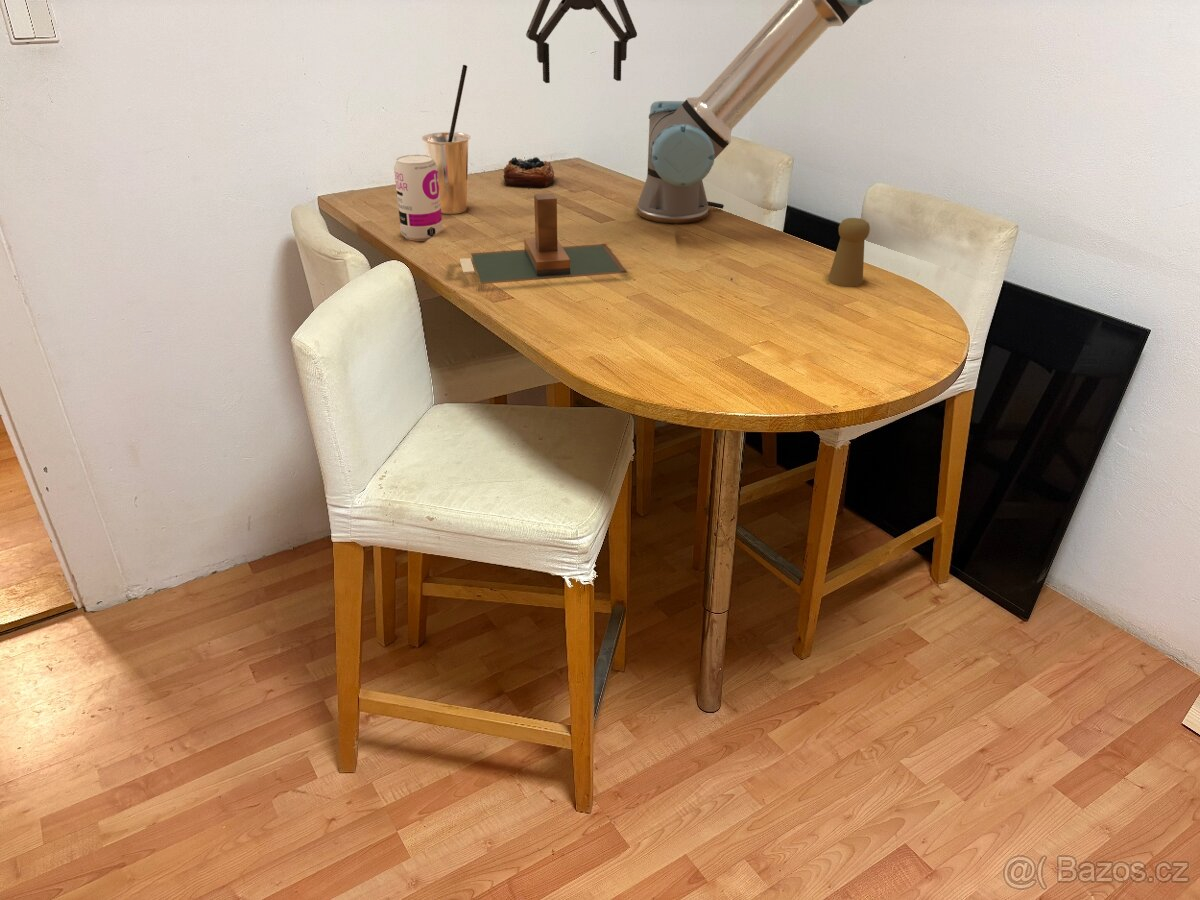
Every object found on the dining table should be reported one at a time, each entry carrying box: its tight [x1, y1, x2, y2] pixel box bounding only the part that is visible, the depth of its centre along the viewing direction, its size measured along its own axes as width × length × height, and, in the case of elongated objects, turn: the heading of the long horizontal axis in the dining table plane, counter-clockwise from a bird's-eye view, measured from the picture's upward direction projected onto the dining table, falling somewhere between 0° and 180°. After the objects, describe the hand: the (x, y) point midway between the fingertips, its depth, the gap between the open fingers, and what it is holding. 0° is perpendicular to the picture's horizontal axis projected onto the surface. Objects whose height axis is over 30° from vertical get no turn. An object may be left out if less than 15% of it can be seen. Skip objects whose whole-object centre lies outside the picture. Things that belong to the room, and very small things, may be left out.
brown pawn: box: [827, 217, 871, 288], centre depth 152 cm, size 6×6×11 cm
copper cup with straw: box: [421, 64, 471, 215], centre depth 180 cm, size 11×11×30 cm
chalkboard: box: [470, 243, 628, 285], centre depth 158 cm, size 26×16×1 cm, turn 104°
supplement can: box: [393, 154, 444, 242], centre depth 169 cm, size 8×8×15 cm
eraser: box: [523, 193, 570, 276], centre depth 154 cm, size 6×13×12 cm, turn 14°
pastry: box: [503, 156, 555, 189], centre depth 207 cm, size 11×12×6 cm
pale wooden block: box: [459, 257, 476, 275], centre depth 155 cm, size 7×2×1 cm, turn 13°
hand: (582, 81), depth 161 cm, fingers open, 13 cm apart
